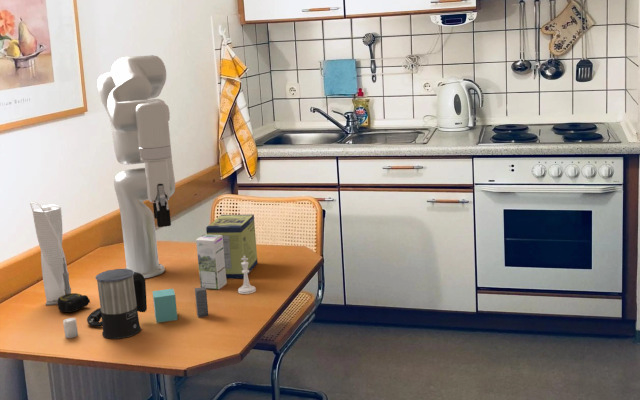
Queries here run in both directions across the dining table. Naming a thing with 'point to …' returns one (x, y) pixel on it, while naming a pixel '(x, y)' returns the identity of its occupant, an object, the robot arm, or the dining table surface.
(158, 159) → the robot arm
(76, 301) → the tape measure
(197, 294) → the post
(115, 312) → the milk frother
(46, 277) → the skyscraper
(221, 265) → the syrup box
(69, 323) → the short round post
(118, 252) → the dining table surface
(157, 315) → the teal rectangular block
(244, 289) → the chess piece
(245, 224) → the protein box
